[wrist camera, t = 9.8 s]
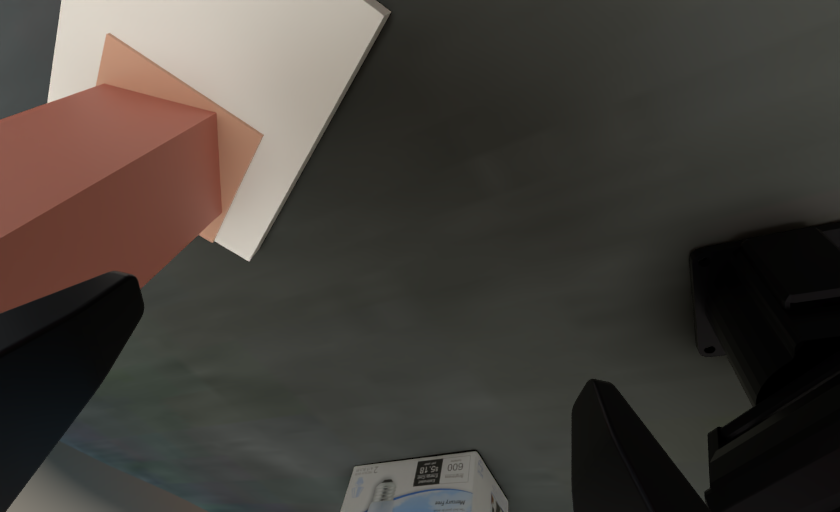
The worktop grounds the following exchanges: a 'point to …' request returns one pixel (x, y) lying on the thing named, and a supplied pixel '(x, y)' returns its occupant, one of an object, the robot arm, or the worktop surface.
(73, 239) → the block
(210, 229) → the board
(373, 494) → the light bulb box
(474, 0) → the worktop surface
